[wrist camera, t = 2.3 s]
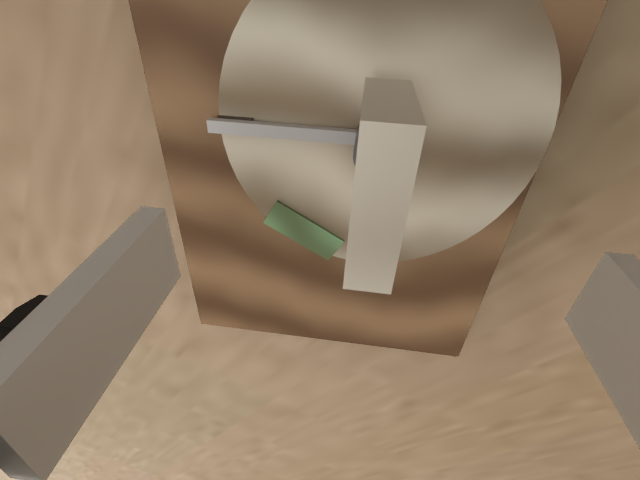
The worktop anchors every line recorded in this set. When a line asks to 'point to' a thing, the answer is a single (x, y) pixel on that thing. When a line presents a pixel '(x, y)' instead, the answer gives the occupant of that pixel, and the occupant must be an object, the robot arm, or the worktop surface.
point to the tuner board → (337, 159)
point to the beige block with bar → (366, 174)
